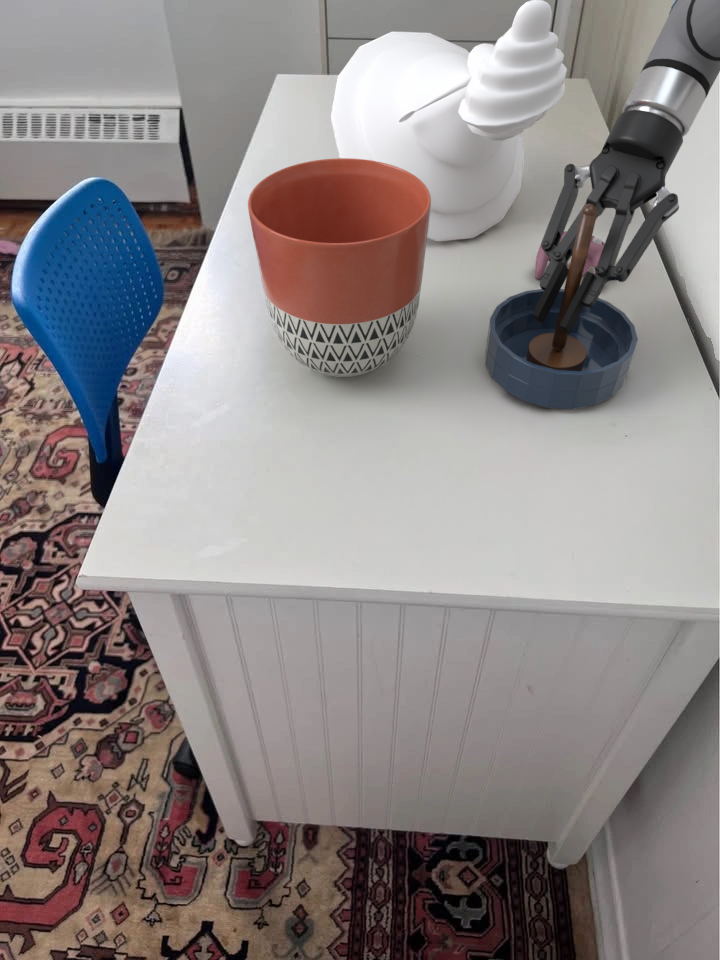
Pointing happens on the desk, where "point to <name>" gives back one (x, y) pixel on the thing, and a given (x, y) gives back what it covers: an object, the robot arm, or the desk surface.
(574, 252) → the masher
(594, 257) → the video game controller
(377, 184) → the planter
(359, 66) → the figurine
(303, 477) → the desk surface
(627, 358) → the bowl
